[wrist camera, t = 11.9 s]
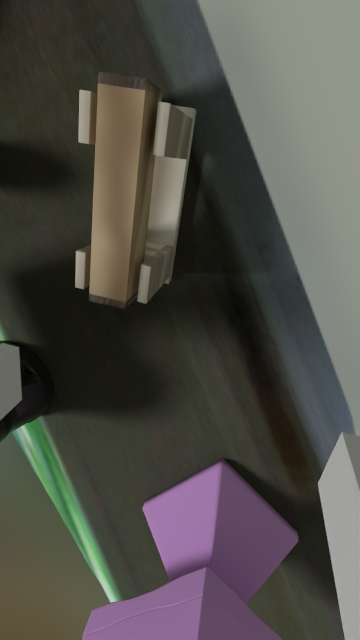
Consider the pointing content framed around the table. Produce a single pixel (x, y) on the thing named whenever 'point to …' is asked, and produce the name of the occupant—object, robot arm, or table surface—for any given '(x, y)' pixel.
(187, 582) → the purple pedestal trophy
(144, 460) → the table surface
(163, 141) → the wooden beam cradle
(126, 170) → the rail
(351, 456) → the robot arm
